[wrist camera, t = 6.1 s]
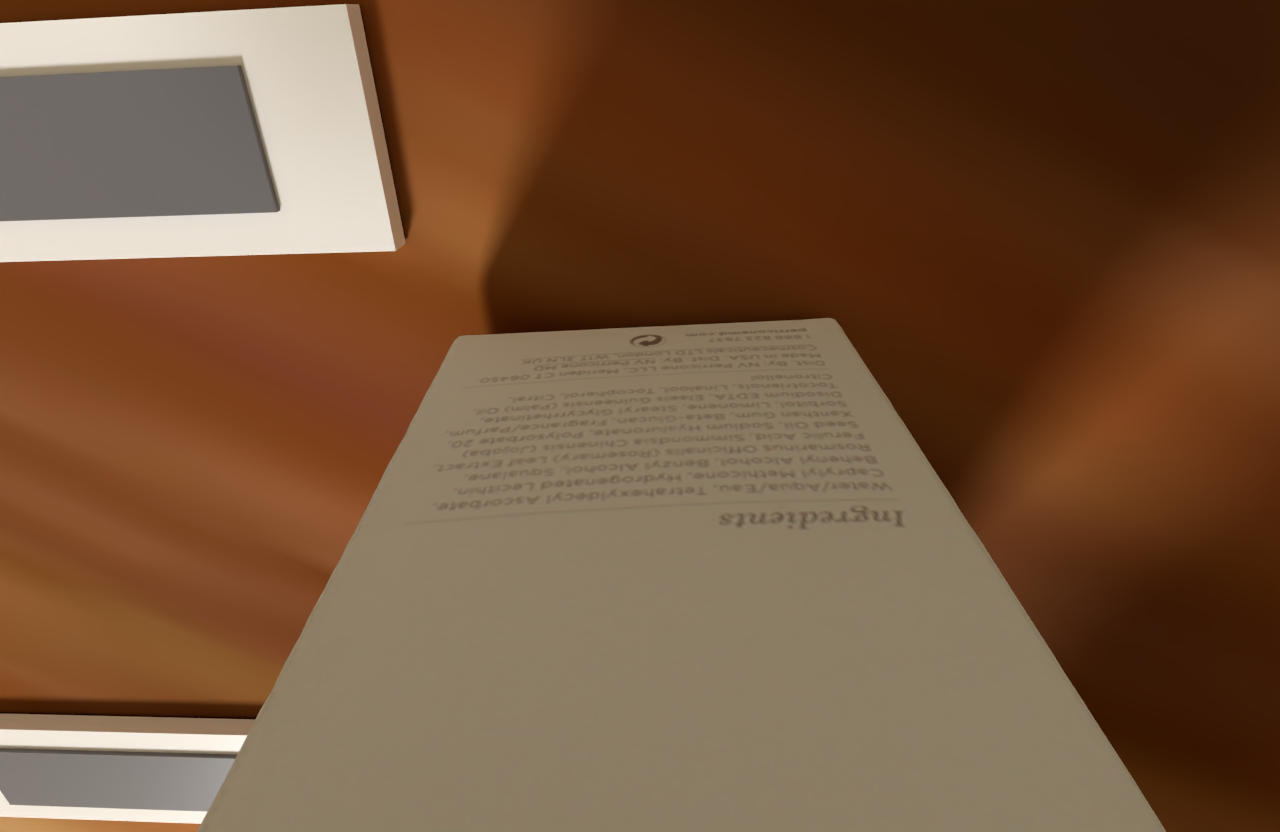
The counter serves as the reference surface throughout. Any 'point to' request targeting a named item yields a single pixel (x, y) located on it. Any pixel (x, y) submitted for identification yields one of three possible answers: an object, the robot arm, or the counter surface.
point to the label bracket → (177, 227)
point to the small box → (669, 616)
